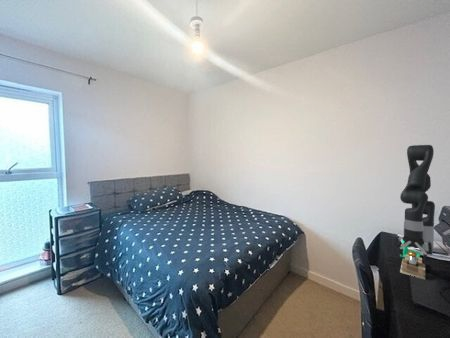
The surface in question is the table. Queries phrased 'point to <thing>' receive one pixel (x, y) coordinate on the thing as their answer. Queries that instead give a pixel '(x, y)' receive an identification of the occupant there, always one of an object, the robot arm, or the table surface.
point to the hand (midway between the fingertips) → (412, 258)
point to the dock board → (413, 268)
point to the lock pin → (412, 258)
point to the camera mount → (405, 250)
